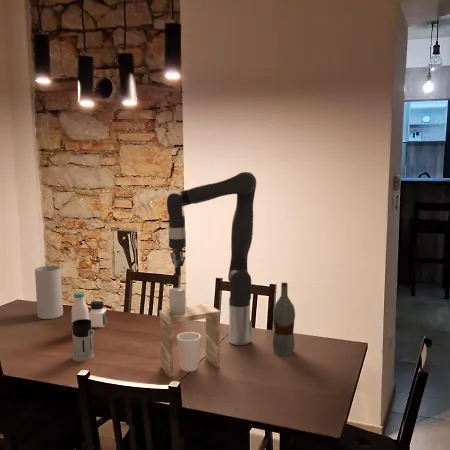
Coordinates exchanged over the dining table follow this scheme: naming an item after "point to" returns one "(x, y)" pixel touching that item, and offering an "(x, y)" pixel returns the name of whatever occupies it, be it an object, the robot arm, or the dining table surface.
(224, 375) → the dining table surface
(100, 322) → the medicine bottle
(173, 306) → the beige upright cylinder
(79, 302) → the milk bottle
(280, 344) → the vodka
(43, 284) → the cylinder vase
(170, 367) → the beige hollow frame
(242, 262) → the robot arm
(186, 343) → the foam cup
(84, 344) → the glass holder
